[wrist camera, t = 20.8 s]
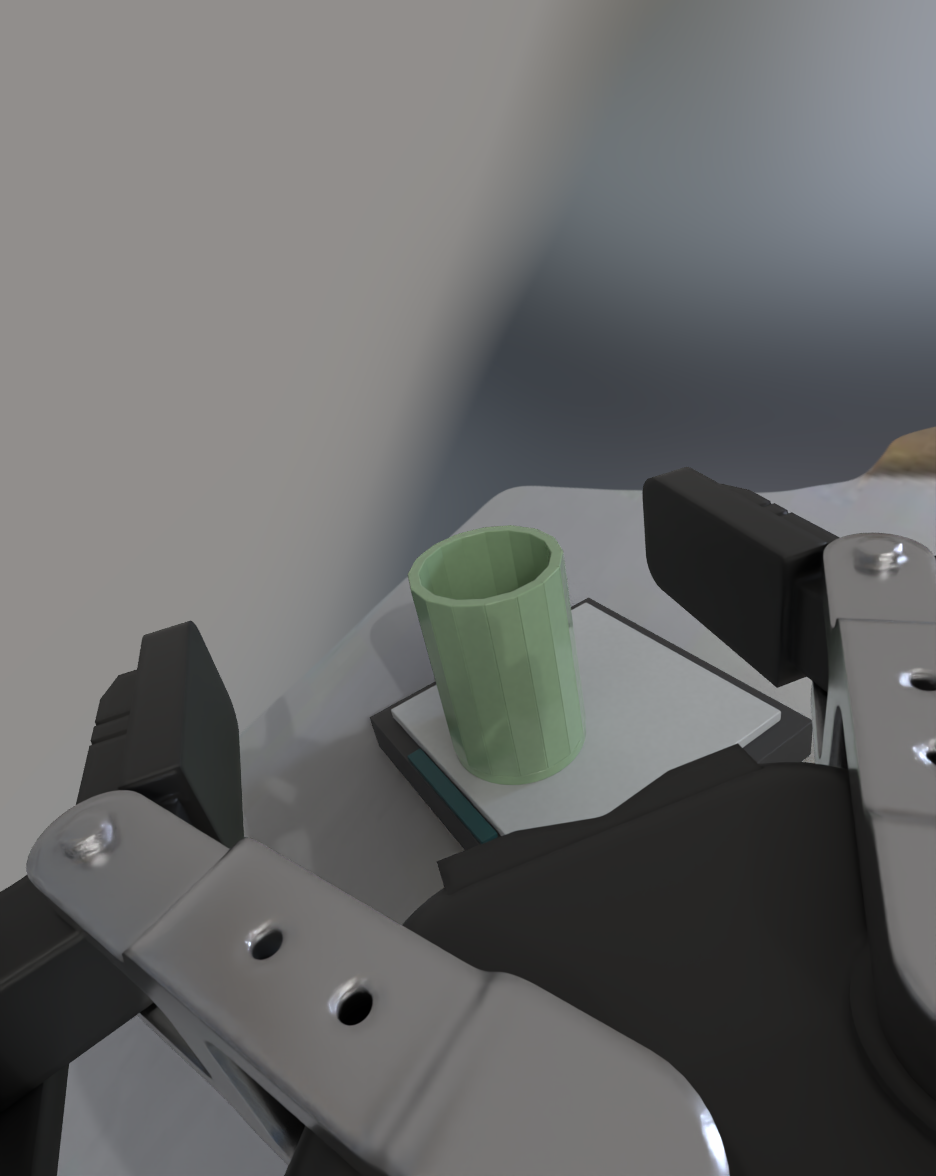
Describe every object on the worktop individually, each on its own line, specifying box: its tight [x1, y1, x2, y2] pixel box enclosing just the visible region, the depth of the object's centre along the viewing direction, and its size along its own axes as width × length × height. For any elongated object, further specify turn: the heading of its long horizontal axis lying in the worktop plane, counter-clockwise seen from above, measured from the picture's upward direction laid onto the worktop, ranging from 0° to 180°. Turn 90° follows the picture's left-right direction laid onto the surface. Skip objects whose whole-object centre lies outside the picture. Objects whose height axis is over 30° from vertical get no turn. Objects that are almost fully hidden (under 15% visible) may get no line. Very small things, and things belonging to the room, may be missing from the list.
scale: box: [370, 598, 813, 850], centre depth 37 cm, size 16×16×3 cm
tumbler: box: [408, 525, 586, 785], centre depth 33 cm, size 7×7×10 cm
